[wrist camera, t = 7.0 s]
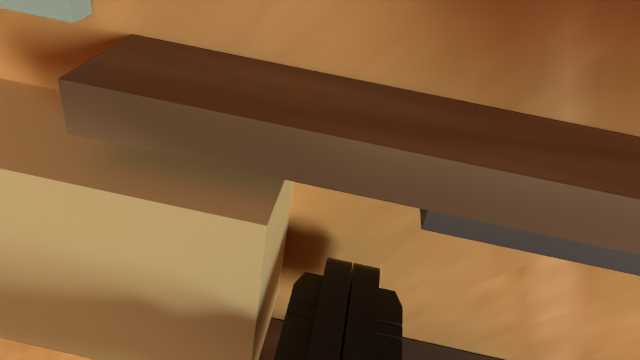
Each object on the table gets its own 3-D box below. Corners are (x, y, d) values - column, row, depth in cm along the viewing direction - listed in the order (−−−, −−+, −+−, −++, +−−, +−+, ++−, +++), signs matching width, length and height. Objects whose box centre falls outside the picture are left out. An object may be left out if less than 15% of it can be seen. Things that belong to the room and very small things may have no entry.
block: (-13, 69, 13) (-156, 134, 10) (302, 134, 13) (266, 226, 9) (29, 232, 16) (-66, 322, 13) (280, 287, 16) (247, 394, 13)
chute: (133, 34, 11) (57, 78, 9) (1067, 224, 11) (1271, 331, 8) (153, 313, 17) (111, 387, 15) (757, 449, 16) (821, 552, 14)
